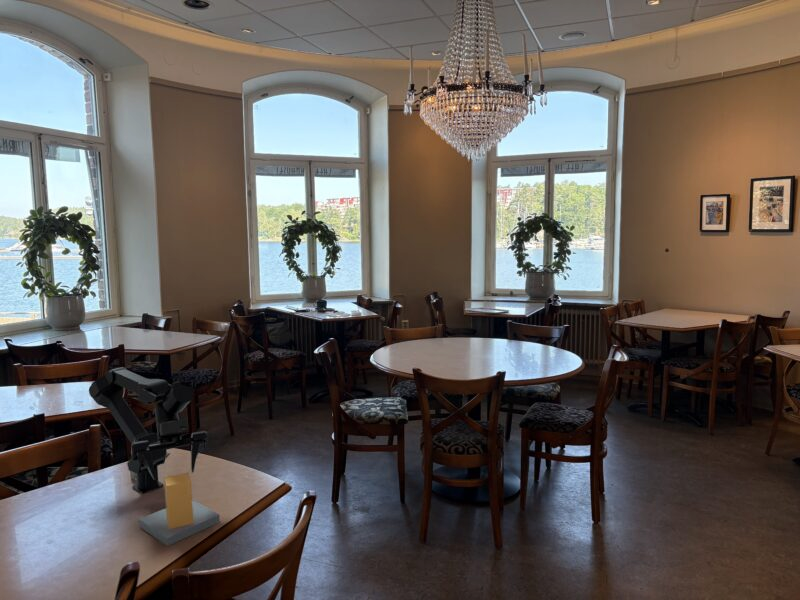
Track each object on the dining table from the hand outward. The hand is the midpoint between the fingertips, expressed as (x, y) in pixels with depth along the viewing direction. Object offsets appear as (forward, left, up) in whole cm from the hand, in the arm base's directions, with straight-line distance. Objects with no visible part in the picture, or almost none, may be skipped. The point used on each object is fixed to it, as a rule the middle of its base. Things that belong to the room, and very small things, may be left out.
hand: (174, 475), depth 142 cm
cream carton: (+6, -2, -9) cm, 12 cm away
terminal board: (+4, -1, -11) cm, 12 cm away
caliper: (-37, +12, -12) cm, 41 cm away
